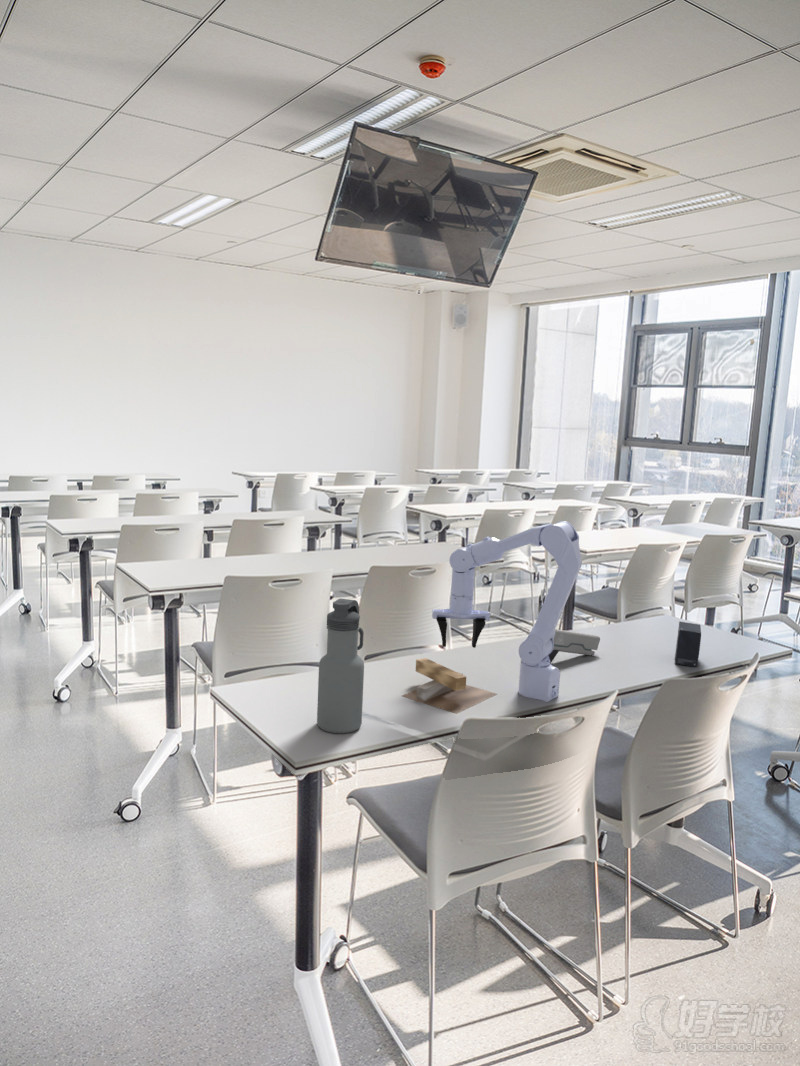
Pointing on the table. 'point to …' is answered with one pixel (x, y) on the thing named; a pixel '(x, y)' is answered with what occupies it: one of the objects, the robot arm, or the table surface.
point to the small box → (688, 644)
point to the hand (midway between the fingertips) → (458, 646)
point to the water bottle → (341, 671)
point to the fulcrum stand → (448, 696)
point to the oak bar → (441, 674)
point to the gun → (574, 643)
